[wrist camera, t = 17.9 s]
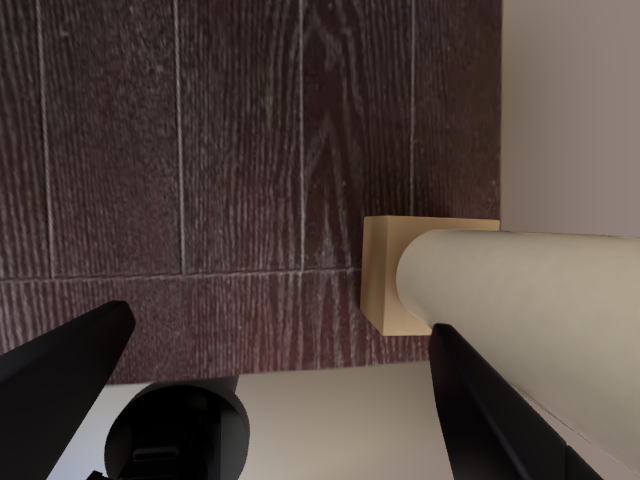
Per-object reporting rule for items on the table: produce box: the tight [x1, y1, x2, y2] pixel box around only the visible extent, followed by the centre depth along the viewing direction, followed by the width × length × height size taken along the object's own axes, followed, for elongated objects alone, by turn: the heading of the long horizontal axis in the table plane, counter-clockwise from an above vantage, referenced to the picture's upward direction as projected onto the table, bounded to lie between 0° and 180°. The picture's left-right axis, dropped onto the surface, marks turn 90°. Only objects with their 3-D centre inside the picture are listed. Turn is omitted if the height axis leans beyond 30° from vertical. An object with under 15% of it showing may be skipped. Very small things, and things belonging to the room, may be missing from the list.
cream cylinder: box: [396, 228, 640, 478], centre depth 12 cm, size 6×6×12 cm
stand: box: [360, 216, 500, 336], centre depth 20 cm, size 7×7×5 cm
